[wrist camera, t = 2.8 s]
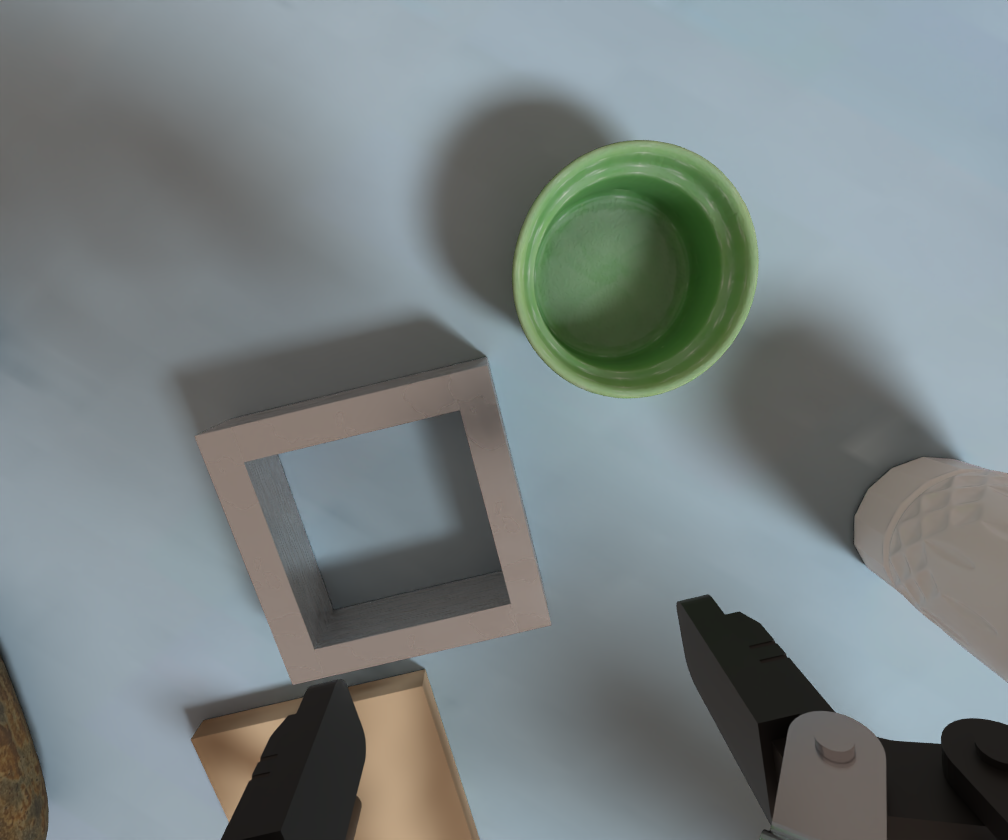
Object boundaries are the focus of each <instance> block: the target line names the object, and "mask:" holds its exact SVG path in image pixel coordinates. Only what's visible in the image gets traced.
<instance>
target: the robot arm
mask: <svg viewBox="0 0 1008 840" xmlns="http://www.w3.org/2000/svg"><path fill="white" fill-rule="evenodd" d="M676 606H677V613H678V619H679V625H680V630H681V636H682V642H683V647H684V653H685V658H686V662H687V666H688V669H689V672H690V675H691V677H692V680H693V682H694V684H695V686H696V688H697V690H698V692H699V694H700V696H701V697H702V699H703V701H704V703H705V705H706V707H707V708H708V710H709V712H710V714H711V716H712V718H713V720H714V721H715V723H716V725H717V727H718V729H719V731H720V732H721V734H722V736H723V738H724V740H725V742H726V743H727V745H728V747H729V749H730V751H731V753H732V754H733V756H734V758H735V760H736V762H737V764H738V766H739V767H740V769H741V771H742V773H743V775H744V777H745V778H746V780H747V782H748V784H749V786H750V788H751V789H752V791H753V793H754V795H755V797H756V799H757V801H758V802H759V804H760V806H761V808H762V810H763V812H764V813H765V815H766V817H767V819H768V821H769V823H770V824H771V828H770V831H767V830H763V831H762V833H761V835H760V838H759V840H1008V725H1006V724H1003V723H1000V722H995V721H991V720H985V719H974V718H969V719H961V720H957V721H954V722H952V723H950V724H949V725H948V726H946V727H945V729H944V730H943V732H942V736H941V744H933V743H918V742H902V741H893V740H887V739H883V738H879V737H876V736H875V734H874V733H873V732H871V731H870V730H869V729H868V728H867V727H866V726H864V725H863V724H861V723H860V722H858V721H856V720H854V719H852V718H850V717H848V716H845V715H842V714H839V713H836V712H835V711H834V710H833V709H832V708H831V707H830V706H829V704H828V703H827V702H826V701H825V700H824V699H823V697H822V696H821V695H820V694H819V693H818V691H817V690H816V689H815V688H814V687H813V685H812V684H811V683H810V682H809V681H808V680H807V678H806V677H805V676H804V675H803V674H802V672H801V671H800V670H799V669H798V668H797V667H796V665H795V664H794V663H793V662H792V661H791V659H790V658H787V656H786V653H785V652H784V651H783V650H782V649H781V648H780V646H779V645H778V644H776V643H775V641H774V639H773V638H772V637H771V636H770V634H769V633H768V632H767V631H766V630H765V629H764V627H763V626H762V625H761V624H760V623H758V622H757V621H755V620H753V619H752V618H750V617H748V616H746V615H745V614H743V613H741V612H735V613H731V614H726V615H725V614H724V613H723V612H722V610H721V609H720V608H719V606H718V605H717V604H716V602H715V601H714V600H713V598H712V597H711V596H710V595H703V596H699V597H695V598H691V599H686V600H682V601H678V602H677V605H676ZM365 758H366V740H365V734H364V730H363V727H362V724H361V722H360V719H359V716H358V714H357V711H356V708H355V705H354V703H353V700H352V697H351V695H350V692H349V689H348V687H347V684H346V683H345V681H344V680H342V679H339V680H335V681H331V682H327V683H322V684H318V685H314V686H310V687H309V688H308V689H307V690H306V692H305V695H304V697H303V699H302V701H301V704H300V706H299V708H298V710H297V713H296V714H292V715H288V716H287V717H286V719H285V720H284V721H283V722H282V723H281V724H280V726H279V727H278V728H277V729H276V730H275V731H274V733H273V734H272V735H271V736H270V738H269V740H268V742H267V744H266V747H265V749H264V751H263V753H262V755H261V757H260V762H258V763H257V765H256V767H255V770H254V772H253V774H252V779H251V780H250V781H249V782H248V784H247V786H246V788H245V790H244V792H243V795H242V797H241V799H240V801H239V803H238V805H237V807H236V809H235V811H234V813H233V815H232V818H231V820H230V822H229V824H228V826H227V828H226V830H225V832H224V834H223V836H222V838H221V840H345V839H346V835H347V831H348V827H349V823H350V819H351V815H352V811H353V807H354V803H355V799H356V795H357V791H358V787H359V783H360V779H361V775H362V771H363V767H364V763H365Z"/></svg>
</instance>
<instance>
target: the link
mask: <svg viewBox="0 0 1008 840" xmlns="http://www.w3.org/2000/svg"><path fill="white" fill-rule="evenodd" d="M459 410H460V413H461V417H462V420H463V424H464V428H465V432H466V435H467V439H468V443H469V447H470V451H471V454H472V458H473V462H474V466H475V469H476V473H477V477H478V481H479V485H480V488H481V492H482V496H483V500H484V503H485V507H486V511H487V515H488V519H489V522H490V526H491V530H492V534H493V537H494V541H495V545H496V549H497V552H498V556H499V560H500V564H501V568H502V571H498V572H494V573H489V574H485V575H481V576H477V577H472V578H468V579H464V580H460V581H455V582H451V583H447V584H442V585H438V586H434V587H430V588H425V589H421V590H417V591H413V592H408V593H404V594H400V595H395V596H391V597H387V598H383V599H378V600H374V601H370V602H366V603H361V604H357V605H353V606H348V607H344V608H340V609H336V610H333V607H332V604H331V602H330V599H329V596H328V593H327V590H326V588H325V585H324V582H323V579H322V576H321V574H320V571H319V568H318V565H317V563H316V560H315V557H314V554H313V551H312V549H311V546H310V543H309V540H308V537H307V535H306V532H305V529H304V526H303V523H302V521H301V518H300V515H299V512H298V510H297V507H296V504H295V501H294V498H293V496H292V493H291V490H290V487H289V484H288V482H287V479H286V476H285V473H284V470H283V468H282V465H281V462H280V459H279V457H278V454H280V453H284V452H289V451H293V450H297V449H301V448H305V447H309V446H314V445H318V444H322V443H326V442H330V441H334V440H338V439H343V438H347V437H351V436H355V435H359V434H363V433H367V432H372V431H376V430H380V429H384V428H388V427H392V426H397V425H401V424H405V423H409V422H413V421H417V420H421V419H426V418H430V417H434V416H438V415H442V414H446V413H451V412H455V411H459ZM195 439H196V441H197V444H198V446H199V449H200V451H201V454H202V457H203V459H204V462H205V464H206V467H207V469H208V472H209V474H210V477H211V479H212V482H213V484H214V487H215V489H216V492H217V494H218V497H219V500H220V502H221V505H222V507H223V510H224V512H225V515H226V517H227V520H228V522H229V525H230V527H231V530H232V532H233V535H234V537H235V540H236V543H237V545H238V548H239V550H240V553H241V555H242V558H243V560H244V563H245V565H246V568H247V570H248V573H249V575H250V578H251V581H252V583H253V586H254V588H255V591H256V593H257V596H258V598H259V601H260V603H261V606H262V608H263V611H264V613H265V616H266V618H267V621H268V624H269V626H270V629H271V631H272V634H273V636H274V639H275V641H276V644H277V646H278V649H279V651H280V654H281V656H282V659H283V661H284V664H285V667H286V669H287V672H288V674H289V677H290V679H291V682H292V684H293V685H295V684H299V683H304V682H308V681H312V680H317V679H321V678H325V677H329V676H334V675H338V674H342V673H347V672H351V671H355V670H360V669H364V668H368V667H373V666H377V665H381V664H386V663H390V662H394V661H399V660H403V659H407V658H412V657H416V656H420V655H425V654H429V653H433V652H438V651H442V650H446V649H450V648H455V647H459V646H463V645H468V644H472V643H476V642H481V641H485V640H489V639H494V638H498V637H502V636H507V635H511V634H515V633H520V632H524V631H528V630H533V629H537V628H541V627H546V626H550V625H551V621H550V616H549V611H548V606H547V601H546V596H545V591H544V587H543V583H542V578H541V574H540V570H539V566H538V562H537V558H536V554H535V550H534V546H533V542H532V538H531V534H530V530H529V526H528V522H527V517H526V513H525V509H524V505H523V501H522V497H521V493H520V489H519V485H518V481H517V477H516V473H515V469H514V465H513V460H512V456H511V452H510V448H509V444H508V440H507V436H506V432H505V428H504V424H503V420H502V416H501V412H500V408H499V404H498V399H497V395H496V391H495V387H494V383H493V379H492V375H491V371H490V367H489V363H488V359H487V357H484V358H479V359H475V360H471V361H467V362H463V363H459V364H455V365H451V366H446V367H442V368H438V369H434V370H430V371H426V372H422V373H418V374H413V375H409V376H405V377H401V378H397V379H393V380H389V381H385V382H381V383H376V384H372V385H368V386H364V387H360V388H356V389H352V390H348V391H343V392H339V393H335V394H331V395H327V396H323V397H319V398H315V399H310V400H306V401H302V402H298V403H294V404H290V405H286V406H282V407H278V408H273V409H269V410H265V411H261V412H257V413H253V414H249V415H245V416H240V417H236V418H232V419H229V420H227V421H225V422H223V423H221V424H219V425H217V426H215V427H213V428H210V429H208V430H206V431H204V432H202V433H200V434H198V435H196V436H195Z"/></svg>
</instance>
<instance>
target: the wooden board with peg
mask: <svg viewBox="0 0 1008 840" xmlns="http://www.w3.org/2000/svg"><path fill="white" fill-rule="evenodd" d="M348 689H349V692H350V695H351V697H352V700H353V703H354V705H355V708H356V711H357V714H358V716H359V719H360V722H361V724H362V727H363V730H364V734H365V740H366V758H365V763H364V767H363V771H362V775H361V779H360V783H359V787H358V791H357V795H356V799H355V803H354V807H353V811H352V815H351V819H350V823H349V827H348V831H347V835H346V839H345V840H480V839H479V836H478V833H477V829H476V826H475V823H474V820H473V817H472V814H471V811H470V808H469V804H468V801H467V798H466V795H465V792H464V789H463V786H462V783H461V780H460V776H459V773H458V770H457V767H456V764H455V761H454V758H453V755H452V751H451V748H450V745H449V742H448V739H447V736H446V733H445V730H444V726H443V723H442V720H441V717H440V714H439V711H438V708H437V705H436V702H435V698H434V695H433V692H432V689H431V686H430V683H429V680H428V677H427V673H426V670H425V669H424V670H420V671H415V672H411V673H407V674H402V675H398V676H394V677H389V678H385V679H381V680H376V681H372V682H368V683H363V684H359V685H355V686H350V687H348ZM302 699H303V698H298V699H294V700H290V701H285V702H281V703H277V704H272V705H268V706H264V707H259V708H255V709H251V710H246V711H242V712H238V713H233V714H229V715H225V716H220V717H216V718H212V719H207V720H203V722H202V723H201V725H200V726H199V728H198V729H197V731H196V732H195V734H194V735H193V737H192V738H191V741H192V743H193V745H194V747H195V750H196V752H197V754H198V756H199V758H200V760H201V763H202V765H203V767H204V769H205V771H206V773H207V775H208V778H209V780H210V782H211V784H212V786H213V788H214V791H215V793H216V795H217V797H218V799H219V801H220V803H221V806H222V808H223V810H224V812H225V814H226V816H227V819H228V821H229V822H230V820H231V818H232V815H233V813H234V811H235V809H236V807H237V805H238V803H239V801H240V799H241V797H242V795H243V792H244V790H245V788H246V786H247V784H248V782H249V781H250V780H251V779H252V774H253V772H254V770H255V767H256V765H257V763H258V762H260V757H261V755H262V753H263V751H264V749H265V747H266V744H267V742H268V740H269V738H270V736H271V735H272V734H273V733H274V731H275V730H276V729H277V728H278V727H279V726H280V724H281V723H282V722H283V721H284V720H285V719H286V717H287V716H288V715H292V714H296V713H297V710H298V708H299V706H300V704H301V701H302Z"/></svg>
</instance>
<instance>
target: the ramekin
mask: <svg viewBox="0 0 1008 840" xmlns="http://www.w3.org/2000/svg"><path fill="white" fill-rule="evenodd" d="M758 261H759V260H758V247H757V240H756V234H755V229H754V226H753V223H752V220H751V217H750V214H749V211H748V209H747V207H746V204H745V203H744V201H743V200H742V198H741V196H740V194H739V192H738V191H737V190H736V188H735V187H734V185H733V184H732V183H731V182H730V180H729V179H728V178H727V177H726V176H725V175H724V174H723V173H722V172H721V171H720V170H719V169H718V168H717V167H716V166H714V165H713V164H712V163H711V162H709V161H708V160H706V159H705V158H703V157H702V156H700V155H698V154H696V153H694V152H692V151H689V150H687V149H685V148H682V147H680V146H676V145H673V144H669V143H664V142H658V141H649V140H633V141H624V142H618V143H613V144H610V145H606V146H603V147H600V148H597V149H595V150H593V151H590V152H588V153H586V154H584V155H582V156H581V157H579V158H577V159H575V160H574V161H572V162H571V163H570V164H569V165H567V166H566V167H565V168H563V169H562V170H561V171H560V172H559V173H558V174H556V175H555V176H554V177H553V178H552V179H551V181H550V182H549V183H548V184H547V185H546V186H545V187H544V188H543V190H542V191H541V193H540V194H539V195H538V197H537V198H536V200H535V201H534V203H533V204H532V206H531V208H530V210H529V212H528V214H527V216H526V218H525V221H524V223H523V225H522V228H521V231H520V234H519V237H518V240H517V244H516V248H515V253H514V258H513V267H512V287H513V296H514V303H515V308H516V312H517V315H518V318H519V321H520V324H521V327H522V329H523V331H524V333H525V335H526V337H527V339H528V341H529V343H530V344H531V346H532V347H533V349H534V350H535V351H536V353H537V354H538V355H539V357H540V358H541V359H542V360H543V361H544V362H545V363H546V364H547V365H548V366H549V367H550V368H551V369H552V370H553V371H554V372H555V373H557V374H558V375H559V376H560V377H562V378H563V379H565V380H567V381H568V382H570V383H572V384H573V385H575V386H577V387H579V388H582V389H584V390H586V391H589V392H592V393H595V394H599V395H603V396H608V397H615V398H641V397H648V396H653V395H658V394H662V393H665V392H668V391H670V390H673V389H676V388H678V387H680V386H682V385H685V384H686V383H688V382H690V381H692V380H693V379H695V378H696V377H698V376H699V375H701V374H702V373H703V372H705V371H706V370H708V369H709V368H710V367H711V366H712V365H713V364H714V363H715V362H716V361H717V360H718V359H719V358H720V357H721V356H722V355H723V354H724V353H725V351H726V350H727V349H728V348H729V346H730V345H731V344H732V342H733V341H734V339H735V338H736V336H737V335H738V333H739V331H740V330H741V328H742V326H743V324H744V322H745V320H746V318H747V315H748V313H749V311H750V308H751V305H752V302H753V297H754V294H755V290H756V285H757V277H758Z"/></svg>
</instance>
